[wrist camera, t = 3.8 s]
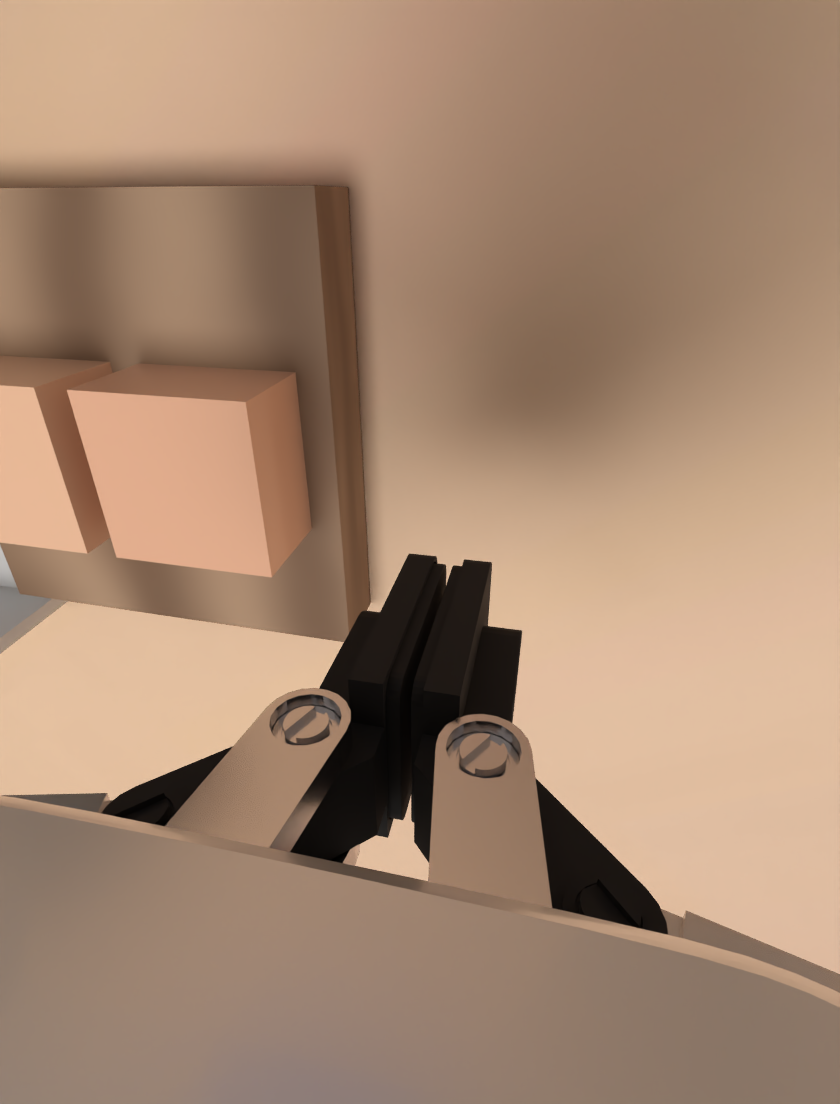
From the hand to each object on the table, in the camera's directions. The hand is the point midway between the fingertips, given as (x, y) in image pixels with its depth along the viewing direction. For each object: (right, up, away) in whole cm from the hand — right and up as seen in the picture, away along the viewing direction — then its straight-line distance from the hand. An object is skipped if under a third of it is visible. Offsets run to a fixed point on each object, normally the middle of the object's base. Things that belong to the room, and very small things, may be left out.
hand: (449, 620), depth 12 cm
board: (-9, +6, +9) cm, 15 cm away
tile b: (-12, +5, +8) cm, 16 cm away
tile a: (-7, +5, +6) cm, 10 cm away
